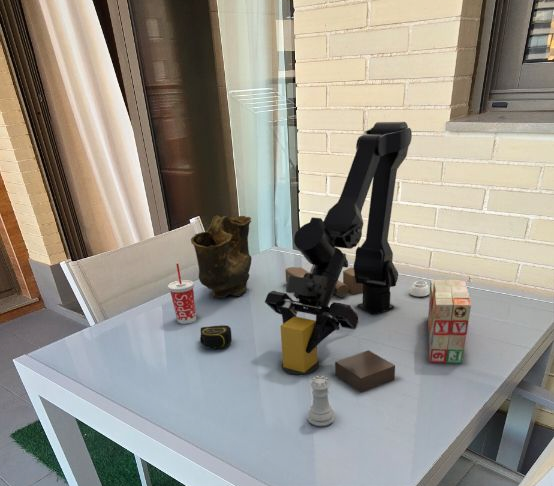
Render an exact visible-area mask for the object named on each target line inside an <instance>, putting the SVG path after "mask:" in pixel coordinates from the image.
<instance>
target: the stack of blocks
mask: <svg viewBox="0 0 554 486" xmlns="http://www.w3.org/2000/svg"><path fill="white" fill-rule="evenodd" d="M429 289H430V294H429V299H428V300H429V301H428V314H427V328H428V332H427V333H428V341H429V347H428V349H429V350H428V351H429V363H435V364H463V361H464V355H465V345H466V339H467V335H468V328H469V320H470V316H471V315H470V314H471V310H472V303H471V299H470V294H469V289H468V287H467V284H466V281H465V280H460V279H431V280H430V283H429Z"/></svg>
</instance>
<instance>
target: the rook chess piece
mask: <svg viewBox="0 0 554 486" xmlns="http://www.w3.org/2000/svg"><path fill="white" fill-rule="evenodd" d="M309 384H310V385H309V386H310V387H311V389H312V391H311V394H312V405H311V406H310V409H308V414H307V415H308V417H307V420H308V422H309V423H310V424H311V425H312V426H315V427H328V426H329V425H331V424H332V423H333V421H334V420H335V416H334V415H335V412H334V409H333V407H332V406H331V405H330V401H329V394H330V391H329V387H331V383H330V381H329V377H327V376H325V375H321V377H320V375H316V376H315V377H313V378H312V381H311V383H309Z"/></svg>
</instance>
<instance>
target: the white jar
mask: <svg viewBox="0 0 554 486" xmlns="http://www.w3.org/2000/svg"><path fill="white" fill-rule="evenodd" d="M409 294H410V295H411V296H413V297H417V298H420V297H421V298H422V297H426V296H428V295H429V296H430V286H429V285H428V282H427V281H425V280H416V281H414V282H413V285H411V287H410V289H409Z"/></svg>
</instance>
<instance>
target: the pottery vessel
mask: <svg viewBox="0 0 554 486" xmlns="http://www.w3.org/2000/svg"><path fill="white" fill-rule="evenodd" d="M251 222H252V217H250V216H245V215H239V216H233V217H229V216H227V215H225V216H222V217H221V216H220V215H215V216H213V218H212V220H211V223H210V225H209V227H208V228H207V230H206V231H201V232H198V233H195V234H194V236H192V237H191V238H190V243H191V245H193V247H194V251H195V255H196V261H197V266H198V279H199V282H200V283H201V285H203V286H204V287H206V288H207V289H209V290H211V291H210V295H211V297H212V298H213V299H218V298H223V299H225V298H226V297H227V296H228V295H232V296H236V297H240V296H241V295H243V294H244V293H246V291H248V287H247V283H248V281H249V279H250V269H251V266H252V256H251V255H250V251H249V233H250V224H251Z"/></svg>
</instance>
